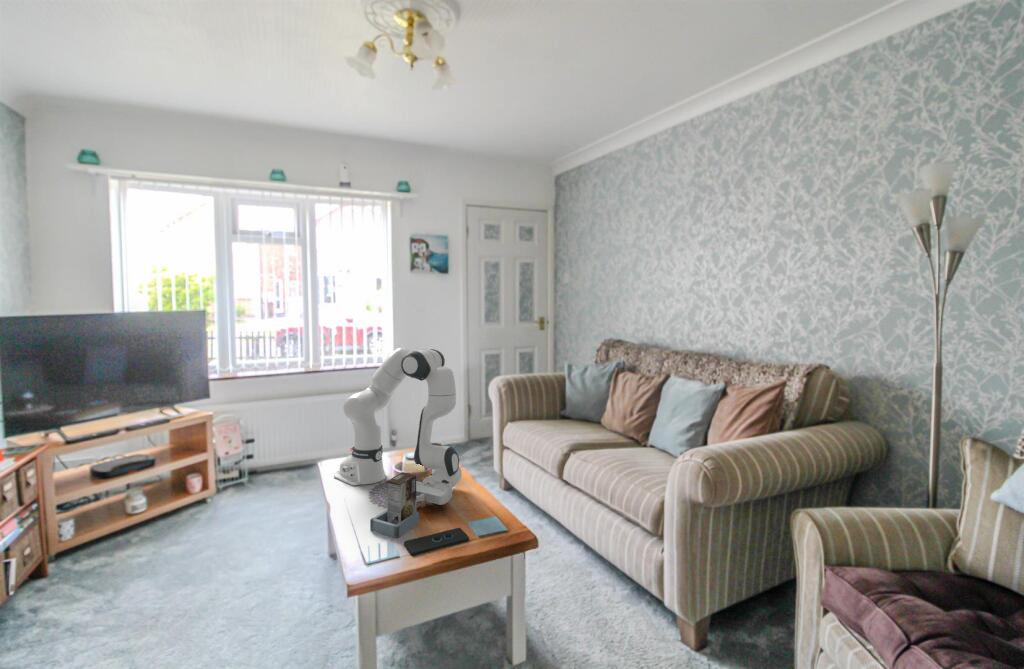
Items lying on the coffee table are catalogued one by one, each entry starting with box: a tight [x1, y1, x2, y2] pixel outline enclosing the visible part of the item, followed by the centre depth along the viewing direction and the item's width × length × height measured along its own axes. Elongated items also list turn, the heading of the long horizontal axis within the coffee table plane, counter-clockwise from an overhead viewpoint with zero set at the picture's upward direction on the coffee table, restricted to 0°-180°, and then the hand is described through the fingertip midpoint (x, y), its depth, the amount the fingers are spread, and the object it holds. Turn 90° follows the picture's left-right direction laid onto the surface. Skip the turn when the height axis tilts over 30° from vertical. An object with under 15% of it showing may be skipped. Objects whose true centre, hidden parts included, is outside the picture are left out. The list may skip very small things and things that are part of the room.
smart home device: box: [403, 527, 470, 557], centre depth 160 cm, size 8×2×20 cm
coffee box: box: [386, 471, 417, 525], centre depth 173 cm, size 9×6×16 cm
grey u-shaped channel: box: [369, 509, 420, 540], centre depth 169 cm, size 11×12×4 cm
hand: (411, 500), depth 177 cm, fingers closed, pressing on coffee box
